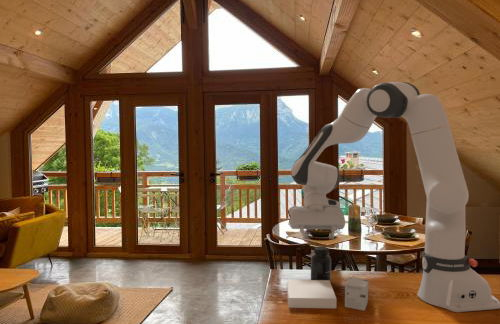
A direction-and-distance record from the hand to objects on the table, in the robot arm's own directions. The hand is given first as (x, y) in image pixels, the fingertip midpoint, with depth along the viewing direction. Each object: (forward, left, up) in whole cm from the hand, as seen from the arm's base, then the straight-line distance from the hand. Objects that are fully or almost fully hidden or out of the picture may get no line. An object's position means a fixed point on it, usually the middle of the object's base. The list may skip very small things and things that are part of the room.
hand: (318, 238), depth 143 cm
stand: (+5, +21, -13) cm, 25 cm away
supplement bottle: (0, +8, -13) cm, 16 cm away
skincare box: (-8, +25, -13) cm, 30 cm away
